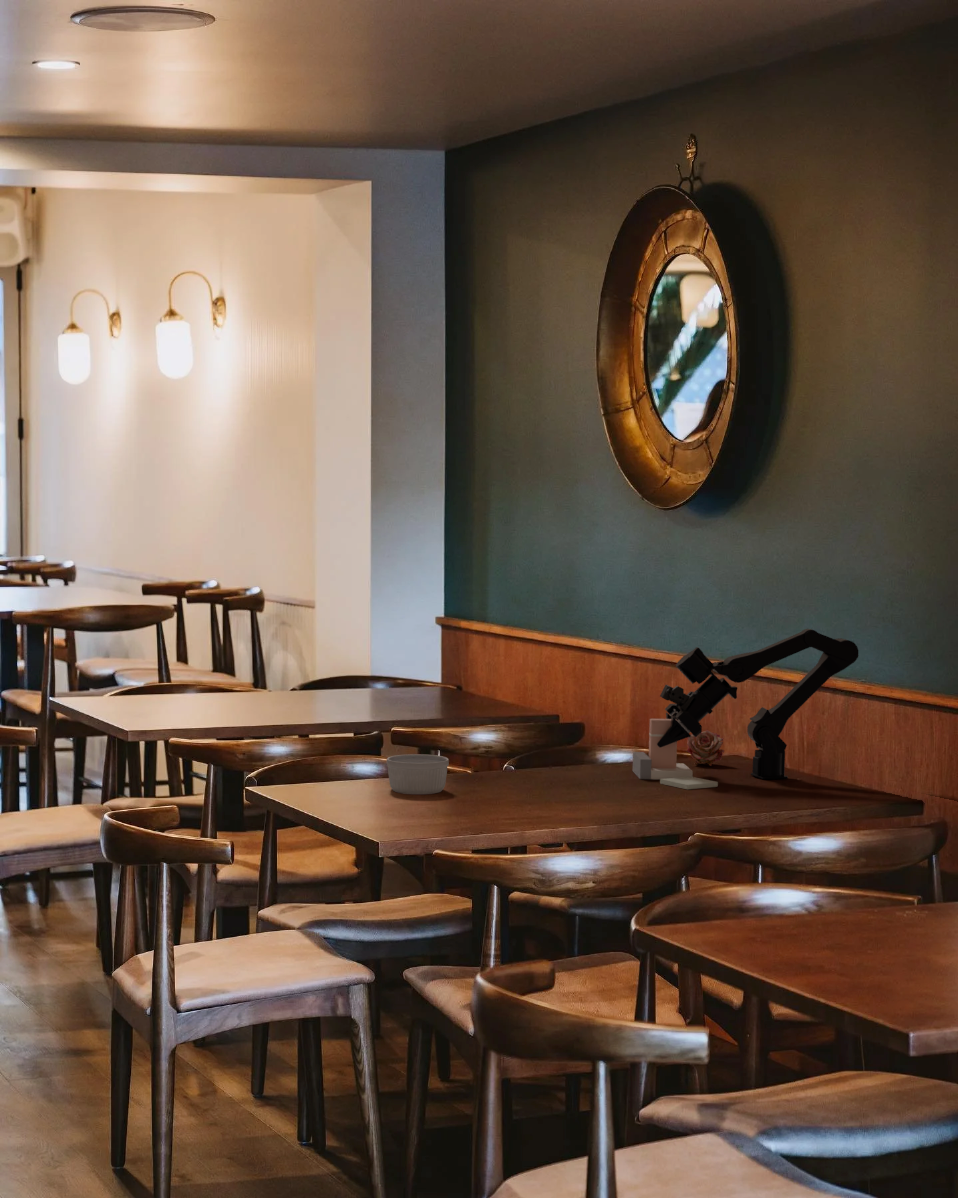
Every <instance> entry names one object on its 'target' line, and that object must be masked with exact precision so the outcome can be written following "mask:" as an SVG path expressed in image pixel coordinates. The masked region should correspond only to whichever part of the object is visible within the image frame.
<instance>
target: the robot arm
mask: <svg viewBox="0 0 958 1198" xmlns="http://www.w3.org/2000/svg"><path fill="white" fill-rule="evenodd" d="M809 648H812V649H815V650H817V651H819V652H822V653H821V656H820V657H819V660H818V661H817V663H816V665H815V666H814V667H813V668H812V669H811V670H810V671H808V672H807V674H806V675H804V676H803V678H802V679H800V680H799V682H797V683H796V685H795V686H794V687H792V689H790V690H789V691H788V692H787V693H786V695H785V696H783V698H781V699H780V701H779V702H777V703H776V705H774V706H773V707H771V708H769V709H767V708H765V707H763V706H761V707H760V709H758V711H757V713H756V714H755V715H754V716H752V717H750V718H749V720H750V722H749V723H748V725H747V729H746V732H747V735H748V738H750V740H752V741H753V742H754V745H755V747H756V748H757V749H754V756H752V772H750V776H752V777H753V776H754V777H756V778H759V779H762V780H773V779H774V780H775V779H777V780H778V779H788V778H789V776H788V775H785V766H786V763H785V761H786V749H787V746H788V744H787V743H786V742H785V741H784V740H783V739H782V738H781V737H780V735H781V733H782V732H783V730H784V728H785V727H786V725H787V722H788V720H789V719H790V718H791V717H792V716H793V715H794V714H795V713H796V712H797V711H798V710H799V709H800V708H801V707H802V706H803V705H804V704H805V703H807V701H808V700H809V699H810V698H812V696H813V695H814V694H816V692H817V691H818V690H819V689H820V688H821V687H822V686H823V685H824V684H825V683H826V682H827V681H828V680H829V679H830V678H831V677H833V676H835V675H837V674H839V673H840V672H842V671H844V670H846V669H847V668H848V667H850V666H851V665H853V664H854V663H855V662H856V661H857V660H858V658H859V648H858V646H857V644H856V643H855V642H854V641H852V640H848V639H846V638H845V639H844V638H832V637H830V636H827V635H824V634H822V633H819V632H817V631H816V630H814V629H812V628H805V629H803V630H801V631H800V632H798V633H795V634H793V635H791V636H788V637H786V638H784V639H781V640H780V641H779V640H778V641H777V642H774V643H772V644H769V645H768V646H764V647H763V648H761V649H758V650H755V651H750V652H743V653H739V654H735V655H731V656H728V657H726V658H725V659H724V660H723V661H713V662H711V660H710V659H709V658H708V657H707V656H706V655H705V654H704V652H703V651H702V649H700V647H698V646H696V647H695V648H693V649H692V650H691V651H690V652H688V653H687V654H684V655H683V656H682V657H681V658H680V659H679V660H678V662H676V664H675V668H677V670H678V671H680V672H681V674H683V676H684V677H685V678H686V679H687V680H688V681H689V683H691V684H692V685H693V684H695V683H697V685H699V687H698V688H697V689H695V691H689V692H688V693H687V694H686V693H684V692H685V691H684V688H682V687H680V686H679V685H676V686H675V687H672V686H671V685H668V684H665V685H664V687H663V689H662V691H661V693H660V695H659V697H660V698H662V699H664V700H666V701H670V702H672V703H669V704H668V705H667V706H666V707H665V708H664V710H665V711H666V712H665V719H671V726H670V727H669V729H668V730H667V731H666V733H665V734H664V735H663V736H662V738H661V739H660V740H659V742H658V743H657V745H658V746H659V747H660V748H661V747H663V746H666V745H668V744H671V743H674V742H676V741H677V742H679V741H682V740H685V739H688V737H691V734H692V735H693V736H695V737H697V736H698V735H699V734H700V733H701V732H703V731H702V730H703V729H702V728H703V727H702V725H701V723H700V722H701V720H702V719H703V718H704V717H706V716H707V715H708V714H709V715H711V714H712V713H713V712H714V711H713V709H714V708H715V707H716V706H717V705H718V704H720V702H721V701H723V699H725V698H726V697H727V696H728V695H729V696H730V697H731V698H733V699H734V700H736V699H737V698H738V696H737V695H738V694H737V691H738V686H736V685H735V686H731V684H730V683H729V682H728V681H727V680H729V681H732V682H734V683H736V684H737V683H739V684H740V683H743V682H745V681H747V680H749V679H750V678H751V677H753V676H754V675H756V674H757V673H759V671H761V670H762V669H764V668H765V667H767V666H769V665H772V664H774V663H777V662H779V661H780V660H783V659H785V658H787V657H791V656H793V655H795V654H798V653H800V652H801V651H804V650H806V649H809ZM713 672H715V673H716V674H718V675H722V676H724V677H721V678H720V679H719V678H718V677H717V675H716V674H715V673H713ZM725 678H726V679H727V680H726V679H725ZM700 684H701V685H700ZM690 733H691V734H690Z"/></svg>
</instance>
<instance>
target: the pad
mask: <svg viewBox="0 0 958 1198" xmlns="http://www.w3.org/2000/svg"><path fill="white" fill-rule="evenodd" d="M659 783H660V785H665V786H670V787H674V788H679V789H684V790H696V789H706V788H716V787H718V785H719V782H718V781H715V780H709V779H705V778H699V777H695V776H692V777H691V776H689V777H678V778H667V779H659Z"/></svg>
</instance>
